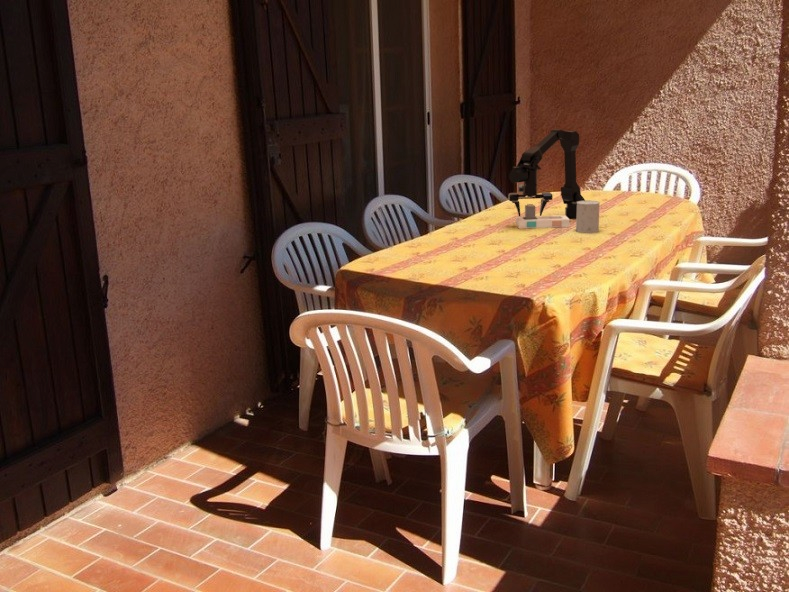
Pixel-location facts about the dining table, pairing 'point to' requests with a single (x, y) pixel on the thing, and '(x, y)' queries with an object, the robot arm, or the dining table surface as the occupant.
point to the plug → (529, 211)
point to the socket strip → (543, 222)
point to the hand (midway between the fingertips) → (530, 216)
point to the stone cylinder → (587, 216)
